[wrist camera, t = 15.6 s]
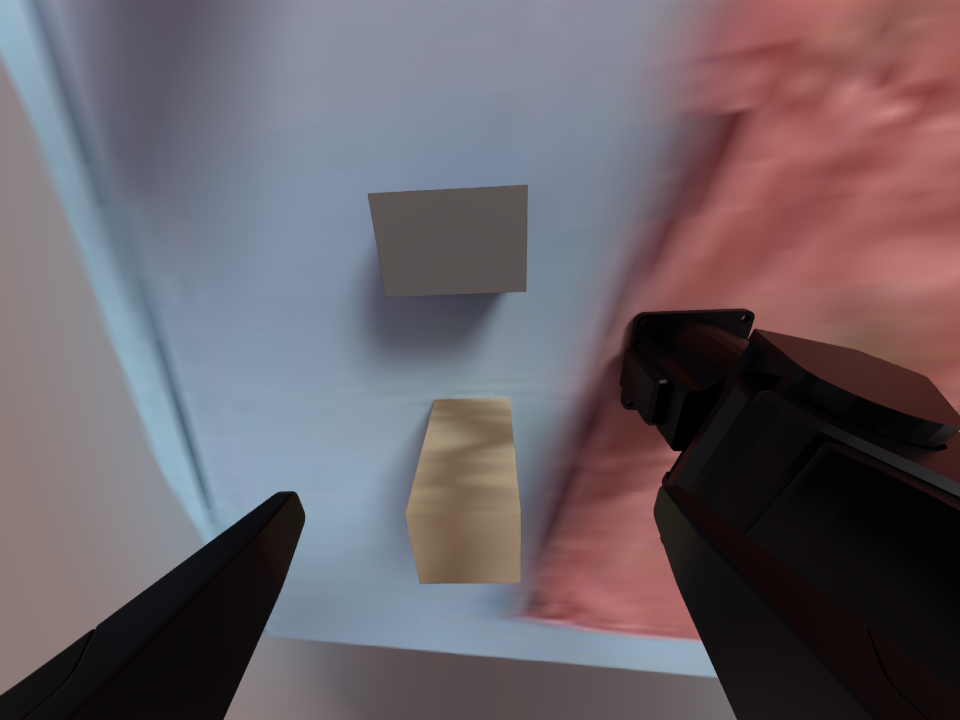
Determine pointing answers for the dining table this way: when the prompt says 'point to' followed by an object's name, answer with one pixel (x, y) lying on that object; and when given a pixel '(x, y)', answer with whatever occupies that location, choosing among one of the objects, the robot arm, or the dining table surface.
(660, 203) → the dining table surface
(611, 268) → the dining table surface
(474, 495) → the birch block
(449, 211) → the charcoal brick
